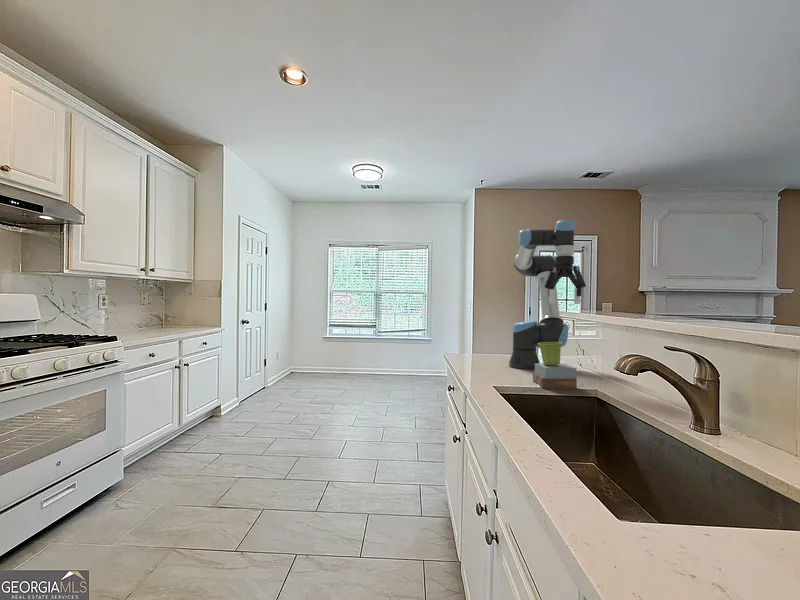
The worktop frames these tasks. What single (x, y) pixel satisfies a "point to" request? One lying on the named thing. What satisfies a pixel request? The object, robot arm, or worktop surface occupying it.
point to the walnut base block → (554, 382)
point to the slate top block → (555, 371)
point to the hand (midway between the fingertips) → (564, 303)
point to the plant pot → (550, 352)
